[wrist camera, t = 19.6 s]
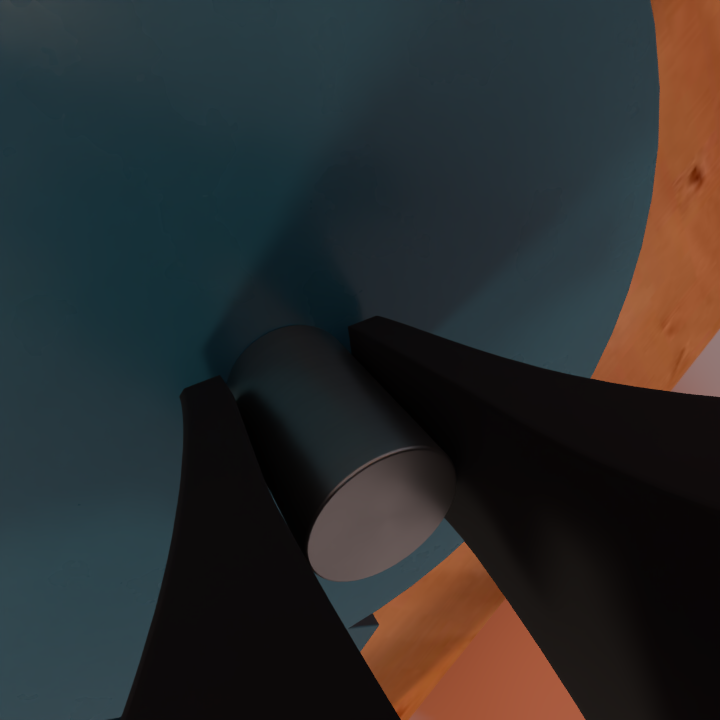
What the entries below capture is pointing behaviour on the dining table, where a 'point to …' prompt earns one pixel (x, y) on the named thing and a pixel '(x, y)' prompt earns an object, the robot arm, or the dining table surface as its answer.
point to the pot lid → (281, 275)
